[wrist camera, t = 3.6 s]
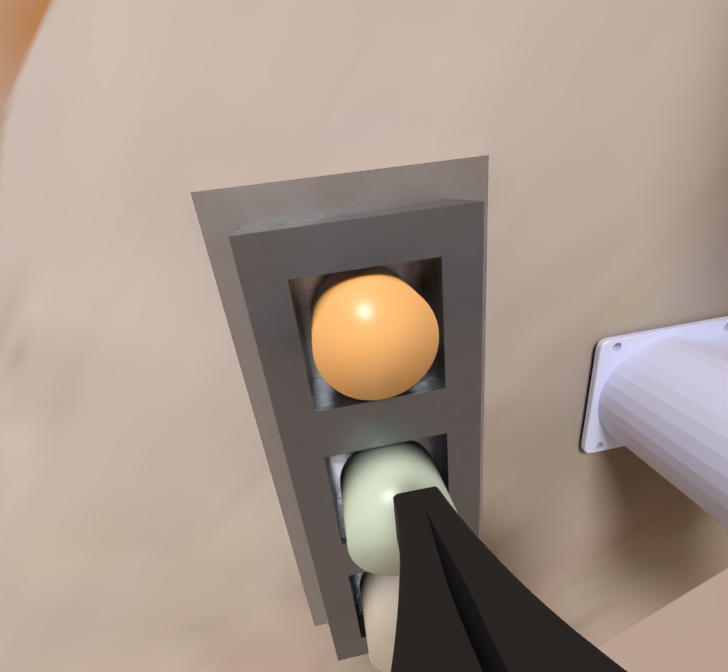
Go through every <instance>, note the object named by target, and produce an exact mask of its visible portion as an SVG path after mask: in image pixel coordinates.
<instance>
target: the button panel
mask: <svg viewBox="0 0 728 672" xmlns="http://www.w3.org/2000/svg"><path fill="white" fill-rule="evenodd" d="M488 157H489V155H487V156H479V157H471V158H463V159H455V160H447V161H439V162H431V163H423V164H415V165H407V166H399V167H391V168H383V169H375V170H367V171H359V172H351V173H343V174H335V175H327V176H319V177H311V178H303V179H295V180H287V181H279V182H271V183H263V184H255V185H247V186H239V187H231V188H223V189H215V190H207V191H199V192H191V195H192V199H193V202H194V206H195V209H196V213H197V216H198V220H199V223H200V227H201V230H202V234H203V237H204V241H205V244H206V248H207V251H208V255H209V258H210V262H211V265H212V269H213V272H214V276H215V279H216V283H217V286H218V290H219V293H220V297H221V300H222V304H223V307H224V311H225V314H226V318H227V321H228V325H229V328H230V332H231V335H232V338H233V342H234V345H235V349H236V352H237V356H238V359H239V363H240V366H241V370H242V373H243V377H244V380H245V384H246V387H247V391H248V394H249V398H250V401H251V405H252V408H253V412H254V415H255V419H256V422H257V426H258V429H259V433H260V436H261V440H262V443H263V447H264V450H265V454H266V457H267V461H268V464H269V468H270V471H271V475H272V478H273V481H274V485H275V488H276V492H277V495H278V499H279V502H280V506H281V509H282V513H283V516H284V520H285V523H286V527H287V530H288V534H289V537H290V541H291V544H292V548H293V551H294V555H295V558H296V562H297V565H298V569H299V572H300V576H301V579H302V583H303V586H304V590H305V593H306V597H307V600H308V604H309V607H310V611H311V614H312V618H313V621H314V624H315V626H318V625H322V624H326V623H329V626H330V630H331V634H332V638H333V641H334V645H335V649H336V653H337V657H338V661H339V660H343V659H347V658H351V657H355V656H359V655H363V654H367V653H369V652H368V645H367V637H366V630H365V623H364V616H363V608H362V601H361V594H360V579H361V577H362V575H363V573H364V572H367V571H365V570H363V569H362V568H360V567H359V566H358V565H357V564H355V562H354V561H353V560H352V558H351V557H350V555H349V552H348V547H347V539H346V530H345V522H344V513H343V505H342V496H341V488H340V475H341V471H342V468H343V466H344V464H345V462H346V461H347V460H348V458H349V457H350V456H351V455H352V454H353V453H354V452H355V451H360V450H365V449H370V448H375V447H380V446H385V445H390V444H395V443H400V442H405V441H410V440H414V441H416V442H418V443H419V444H421V445H422V446H423V447H425V448H426V449H427V451H428V452H429V453H430V455H431V457H432V459H433V461H434V463H435V466H436V468H437V470H438V472H439V474H440V476H441V478H442V481H443V483H444V485H445V487H446V489H447V491H448V493H449V495H450V498H451V500H452V502H453V504H454V506H455V508H456V510H457V513H458V514H459V516H460V517H461V518H462V519H463V521H464V522H465V523H466V524H467V525H468V527H469V528H470V529H471V530H472V531H473V532H474V533H475V535H476V536H477V537H478V538H479V539H480V540H481V535H482V481H483V427H484V373H485V319H486V265H487V211H488ZM375 266H384V267H386V268H388V269H390V270H392V271H393V272H395V273H396V274H397V275H399V276H400V277H401V278H402V279H403V280H404V281H405V282H406V283H407V284H408V285H409V286H410V287H411V288H412V289H414V290H415V291H416V292H417V293H418V294H419V295H420V296H421V297H422V298H423V299H424V300H425V301H426V302H427V303H428V305H429V306H430V308H431V309H432V311H433V313H434V315H435V317H436V320H437V324H438V329H439V344H438V350H437V353H436V356H435V359H434V361H433V363H432V365H431V367H430V368H429V370H428V371H427V373H426V374H425V375H424V376H423V378H422V379H421V380H420V381H419V382H417V383H416V384H415V385H414V386H413V387H411V388H410V389H408V390H406V391H405V392H403V393H401V394H399V395H396V396H393V397H390V398H386V399H381V400H360V399H355V398H352V397H349V396H346V395H344V394H342V393H340V392H338V391H337V390H335V389H334V388H332V387H331V386H330V385H329V384H328V383H327V382H326V381H325V380H324V378H323V377H322V376H321V374H320V373H319V371H318V369H317V367H316V364H315V361H314V357H313V350H312V332H311V308H312V303H313V300H314V297H315V295H316V293H317V291H318V289H319V288H320V286H321V285H322V283H323V282H324V281H325V280H326V279H327V278H328V277H329V276H330V275H332V274H333V273H336V272H342V271H349V270H355V269H362V268H369V267H375Z"/></svg>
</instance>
